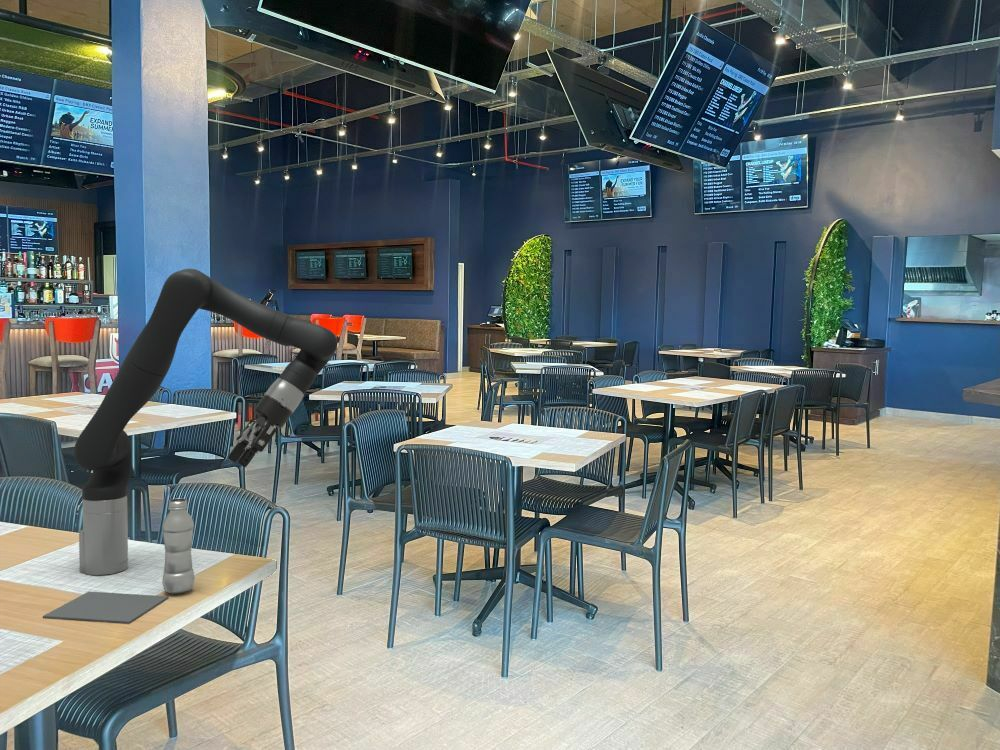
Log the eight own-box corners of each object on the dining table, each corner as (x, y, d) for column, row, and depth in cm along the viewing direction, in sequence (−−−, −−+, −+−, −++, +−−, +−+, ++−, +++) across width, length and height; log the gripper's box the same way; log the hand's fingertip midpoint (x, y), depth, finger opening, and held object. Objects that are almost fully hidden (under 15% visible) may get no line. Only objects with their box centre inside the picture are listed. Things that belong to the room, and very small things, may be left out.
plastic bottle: (160, 598, 162) (159, 504, 161) (164, 587, 169) (163, 497, 167) (192, 596, 164) (192, 503, 163) (196, 585, 170) (195, 496, 169)
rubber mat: (42, 618, 151) (42, 616, 151) (88, 593, 164) (88, 591, 164) (129, 623, 149) (129, 621, 148) (168, 598, 162) (168, 596, 162)
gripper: (257, 391, 180) (214, 450, 175) (275, 394, 168) (229, 457, 163) (282, 410, 183) (241, 467, 178) (302, 414, 171) (258, 476, 166)
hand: (235, 462), depth 170 cm, fingers open, 8 cm apart
